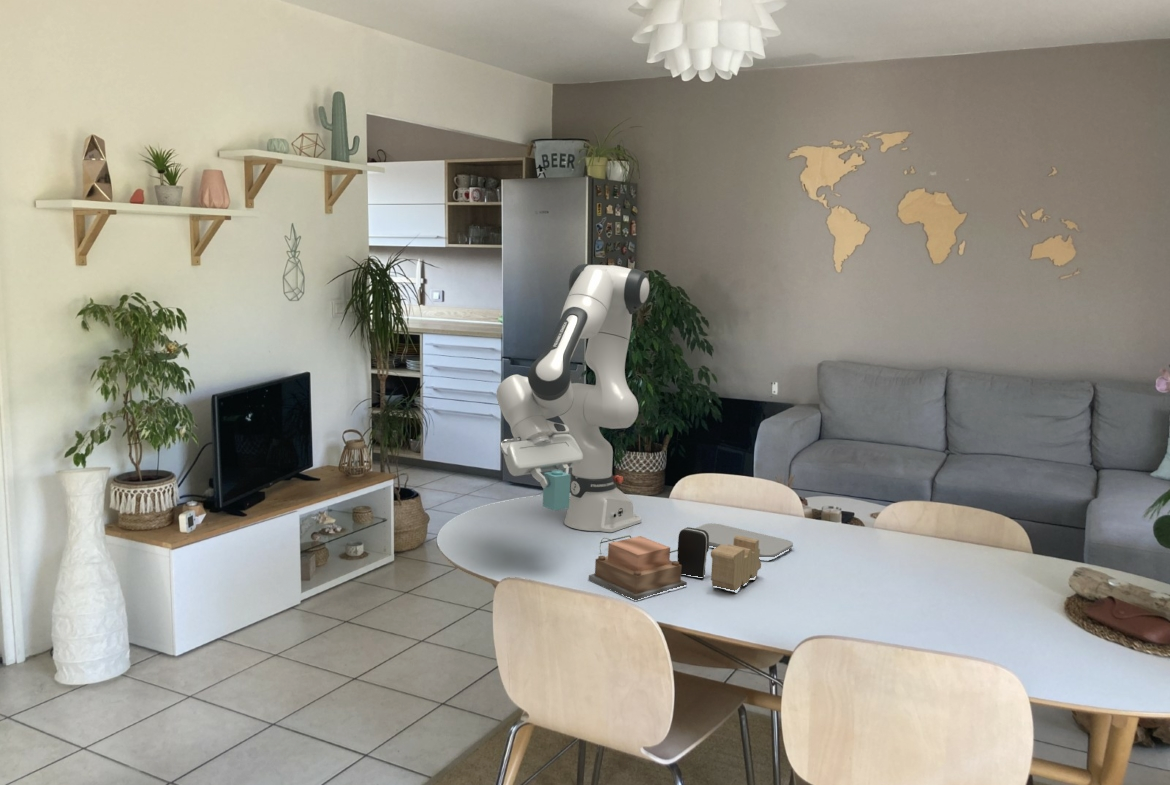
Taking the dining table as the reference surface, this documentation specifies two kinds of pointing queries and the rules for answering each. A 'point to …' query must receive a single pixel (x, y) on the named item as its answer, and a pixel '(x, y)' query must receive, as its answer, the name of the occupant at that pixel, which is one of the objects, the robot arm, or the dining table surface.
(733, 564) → the toy train
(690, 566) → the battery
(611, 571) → the wooden stepped box
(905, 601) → the dining table surface
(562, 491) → the teal brick
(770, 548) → the tablet
